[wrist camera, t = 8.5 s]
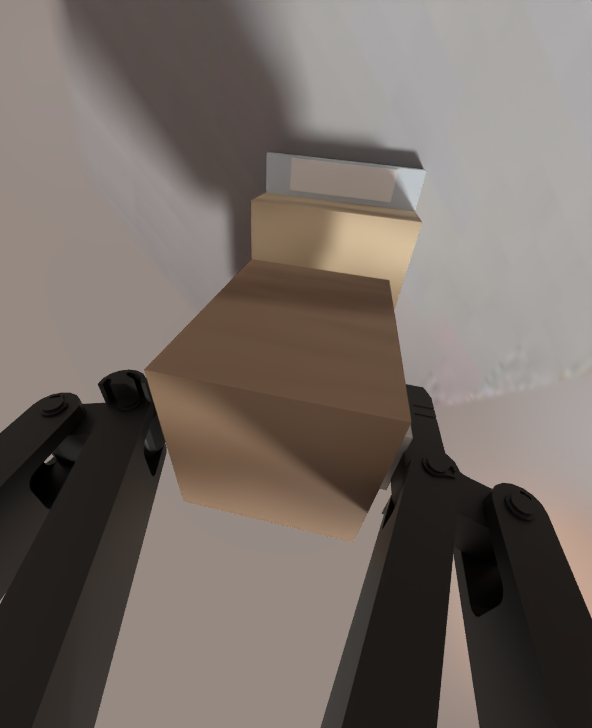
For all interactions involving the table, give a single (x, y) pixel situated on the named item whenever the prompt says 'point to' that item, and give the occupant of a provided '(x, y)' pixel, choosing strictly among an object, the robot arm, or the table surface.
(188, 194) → the table surface
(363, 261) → the oak plinth
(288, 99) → the table surface
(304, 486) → the walnut block
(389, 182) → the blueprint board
